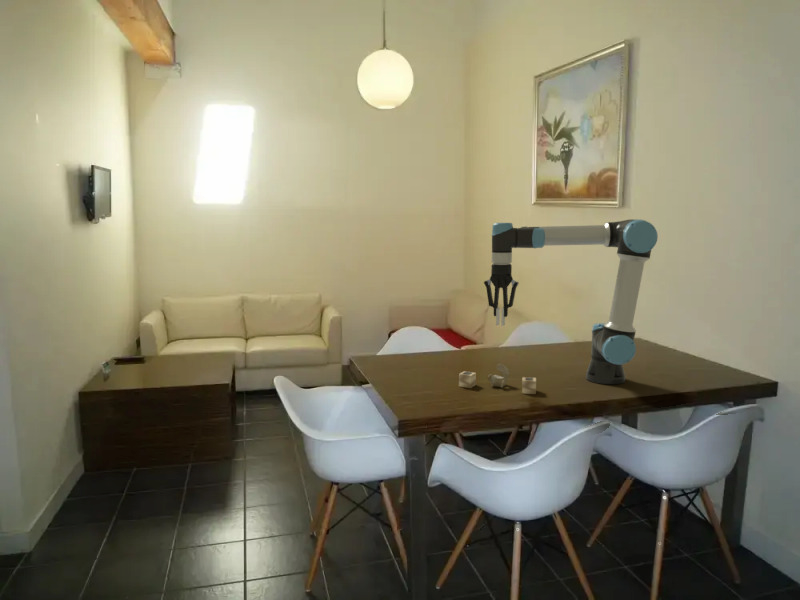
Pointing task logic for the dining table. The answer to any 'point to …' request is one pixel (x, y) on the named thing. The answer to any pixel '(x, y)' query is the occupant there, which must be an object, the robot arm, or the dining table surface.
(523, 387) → the marked cube 2
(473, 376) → the marked cube 1
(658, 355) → the dining table surface
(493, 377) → the white irregular piece
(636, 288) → the robot arm
